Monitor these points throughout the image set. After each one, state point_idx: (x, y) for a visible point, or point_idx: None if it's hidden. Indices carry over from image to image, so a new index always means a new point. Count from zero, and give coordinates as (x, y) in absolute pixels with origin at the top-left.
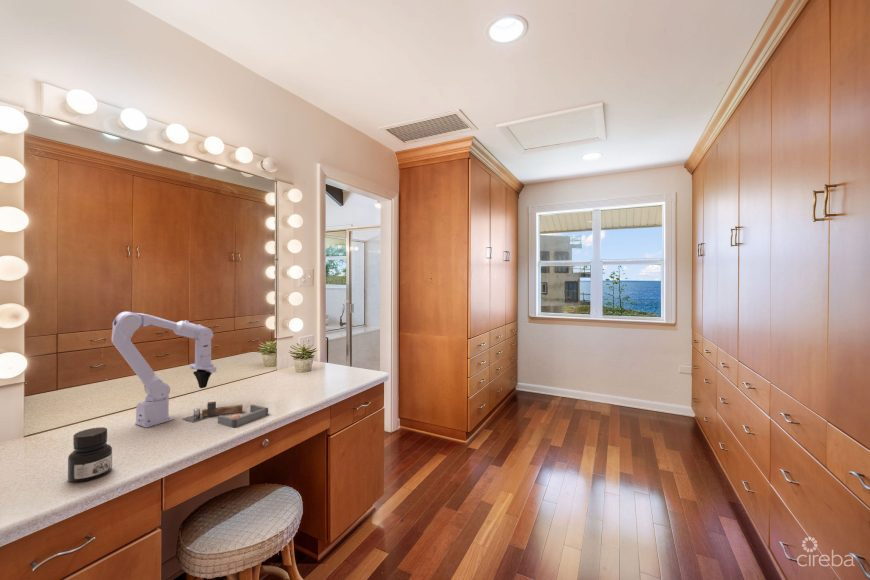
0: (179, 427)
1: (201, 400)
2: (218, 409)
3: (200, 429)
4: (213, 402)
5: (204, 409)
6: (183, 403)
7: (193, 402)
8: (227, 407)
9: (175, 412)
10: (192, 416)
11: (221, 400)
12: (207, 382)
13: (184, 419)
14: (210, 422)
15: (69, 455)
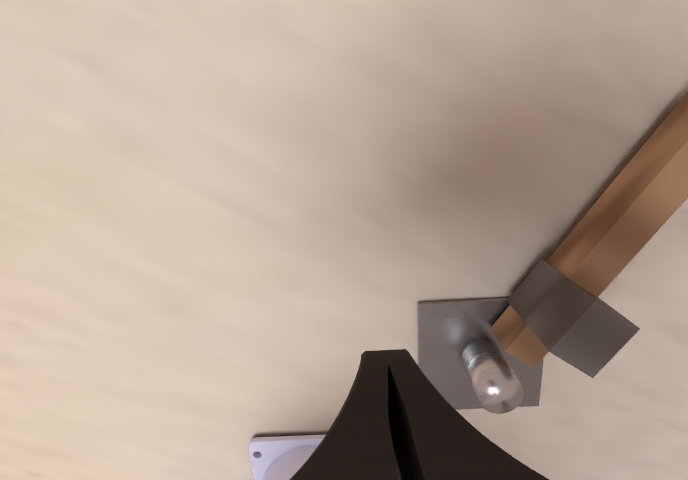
0: (533, 467)
1: (73, 122)
2: (610, 279)
3: (679, 430)
4: (600, 326)
5: (514, 341)
6: (53, 246)
7: (84, 190)
8: (656, 220)
9: (237, 367)
10: (437, 363)
11: (219, 12)
12: (429, 381)
13: None
14: (638, 350)
15: None
